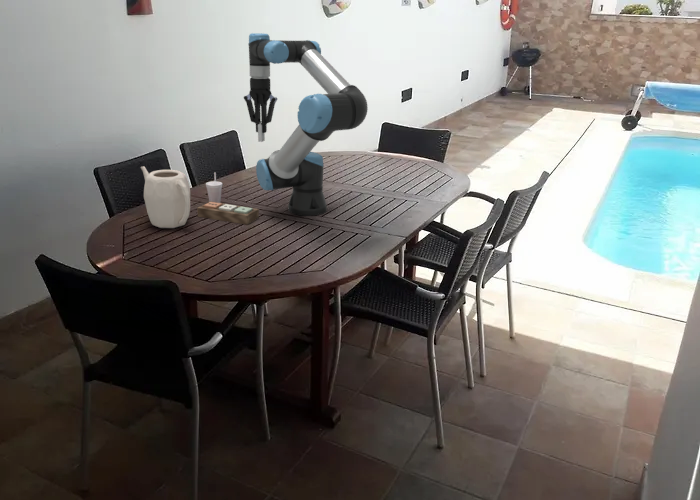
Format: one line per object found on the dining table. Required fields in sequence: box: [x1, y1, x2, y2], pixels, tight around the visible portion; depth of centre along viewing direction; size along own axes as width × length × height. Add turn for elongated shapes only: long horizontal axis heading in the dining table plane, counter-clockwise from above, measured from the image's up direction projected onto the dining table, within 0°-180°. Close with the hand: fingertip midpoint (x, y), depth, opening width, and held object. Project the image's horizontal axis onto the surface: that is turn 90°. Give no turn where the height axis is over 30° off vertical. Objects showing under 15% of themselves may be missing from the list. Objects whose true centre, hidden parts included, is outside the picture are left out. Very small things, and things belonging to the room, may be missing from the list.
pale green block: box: [234, 206, 254, 214], centre depth 226 cm, size 5×5×4 cm
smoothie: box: [205, 172, 224, 203], centre depth 237 cm, size 6×6×14 cm
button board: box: [196, 201, 260, 226], centre depth 228 cm, size 21×9×4 cm, turn 70°
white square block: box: [219, 203, 238, 212], centre depth 228 cm, size 5×5×4 cm
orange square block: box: [203, 201, 222, 209], centre depth 230 cm, size 5×5×4 cm
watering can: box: [140, 166, 191, 229], centre depth 216 cm, size 16×27×19 cm, turn 52°
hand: (261, 141), depth 233 cm, fingers closed
